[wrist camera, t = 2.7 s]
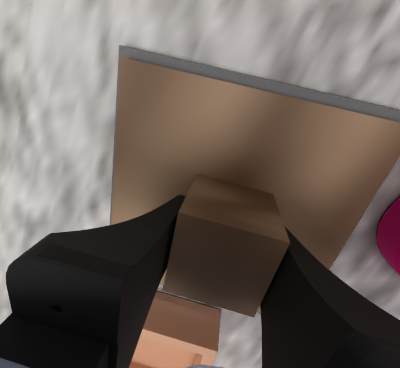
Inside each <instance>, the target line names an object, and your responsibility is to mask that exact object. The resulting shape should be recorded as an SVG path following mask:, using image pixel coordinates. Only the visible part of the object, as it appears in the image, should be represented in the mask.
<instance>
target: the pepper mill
mask: <svg viewBox="0 0 400 368" xmlns="http://www.w3.org/2000/svg"><path fill="white" fill-rule="evenodd" d="M377 243H378V248H379V249H380V251H381V253H382V255H383V257H384V258H385V259H386V260H387V261H388V262H389V264H390V265H391V266H392V267H393V268H394V269H395V270H396V272H397V273H398V274H399V275H400V198H399V199H397V200H396V201H395V202H394V203H393V204H392V205H391V206H390V208H389V209H388V210H387V211H386V212H385V214H384V215H383V217H382V219H381V221H380V223H379V226H378V231H377Z"/></svg>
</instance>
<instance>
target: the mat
mask: <svg viewBox="0 0 400 368" xmlns="http://www.w3.org/2000/svg"><path fill="white" fill-rule="evenodd" d="M120 57H123V58H127V59H131V60H135V61H140V62H144V63H148V64H152V65H157V66H161V67H165V68H169V69H174V70H178V71H182V72H186V73H191V74H195V75H199V76H203V77H208V78H212V79H216V80H220V81H225V82H229V83H233V84H237V85H242V86H246V87H250V88H254V89H259V90H263V91H267V92H271V93H276V94H280V95H284V96H288V97H293V98H297V99H301V100H305V101H310V102H314V103H318V104H322V105H327V106H331V107H335V108H339V109H344V110H348V111H352V112H356V113H361V114H365V115H369V116H373V117H378V118H382V119H386V120H390V121H395V122H399V123H400V110H397V109H392V108H388V107H384V106H379V105H375V104H371V103H366V102H362V101H358V100H353V99H349V98H345V97H341V96H336V95H332V94H328V93H323V92H319V91H315V90H310V89H306V88H302V87H298V86H293V85H289V84H285V83H280V82H276V81H272V80H267V79H263V78H259V77H254V76H250V75H246V74H242V73H237V72H233V71H229V70H224V69H220V68H216V67H211V66H207V65H203V64H198V63H194V62H190V61H186V60H181V59H177V58H173V57H168V56H164V55H160V54H155V53H151V52H147V51H143V50H138V49H134V48H130V47H125V46H121V45H119V61H118V80H117V99H116V118H115V137H114V156H113V175H112V193H111V212H110V225H111V219H112V201H113V183H114V165H115V147H116V129H117V111H118V93H119V75H120Z"/></svg>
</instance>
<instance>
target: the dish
mask: <svg viewBox="0 0 400 368" xmlns="http://www.w3.org/2000/svg"><path fill="white" fill-rule="evenodd" d="M220 315H221V310H219V309H216V308H213V307H209V306H206V305H203V304H199V303H196V302H192V301H189V300H186V299H182V298H179V297H175V296H172V295H169V294H165V293H162V292H158V291H156V294H155V297H154V299H153V302H152V305H151V307H150V310H149V313H148V316H147V318H146V321H145V324H144V327H143V330H142V332H141V335H140V338H139V341H138V344H137V346H136V349H135V352H134V355H133V358H132V361H131V364H130V366H129V368H185V367H189V366H194V365H199V364H203V365H209V366H212V364H213V362H214V360H215V357H216V355H217V352H218V342H219V328H220Z"/></svg>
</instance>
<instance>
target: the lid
mask: <svg viewBox="0 0 400 368" xmlns="http://www.w3.org/2000/svg"><path fill="white" fill-rule="evenodd" d="M399 156H400V123H399V122H395V121H390V120H386V119H382V118H378V117H373V116H369V115H365V114H361V113H356V112H352V111H348V110H344V109H339V108H335V107H331V106H327V105H322V104H318V103H314V102H310V101H305V100H301V99H297V98H293V97H288V96H284V95H280V94H276V93H271V92H267V91H263V90H259V89H254V88H250V87H246V86H242V85H237V84H233V83H229V82H225V81H220V80H216V79H212V78H208V77H203V76H199V75H195V74H191V73H186V72H182V71H178V70H174V69H169V68H165V67H161V66H157V65H152V64H148V63H144V62H140V61H135V60H131V59H127V58H123V57H120V75H119V93H118V111H117V129H116V147H115V165H114V183H113V201H112V219H111V225H113V224H117V223H120V222H124V221H127V220H130V219H133V218H136V217H139V216H141V215H144V214H146V213H148V212H150V211H152V210H154V209H156V208H158V207H159V206H161V205H163V204H165V203H166V202H168V201H169V200H171V199H173V198H174V197H176V196H177V195H179V194H180V195H184V196H186V198H185V200H184V202H183V204H182V206H181V208H180V210H179V212H178V217H177V221H176V226H175V231H174V236H173V241H172V246H171V251H170V256H169V261H168V266H167V269H166V271H165V273H164V275H163V277H162V279H161V282H160V284H161V285H163V291H166V292H170V293H173V294H176V295H180V296H183V297H187V298H190V299H193V300H197V301H200V302H204V303H207V304H210V305H214V306H217V307H221V308H224V309H227V310H231V311H234V312H238V313H241V314H244V315H248V316H251V317H254V316H255V314H256V312H257V313H260V314H261V309H260V304H261V302H262V300H263V298H264V296H265V294H266V292H267V289H268V287H269V285H270V283H271V281H272V279H273V277H274V275H275V273H276V271H277V269H278V267H279V265H280V263H281V261H282V259H283V257H284V254H285V252H286V250H287V248H288V246H289V244H290V241H289V238H288V235H287V232H286V229H285V227H286V228H287V229H288V230H289V231H290V232H291V233H292V234H293V235H294V236H295V237H296V238H297V240H298V241H299V242H300V243H301V244H302V245H303V246H304V247H305V248H306V249H307V250H308V251H309V252H310V253H311V254H312V255H313V256H314V257H315V258H316V259H317V260H318V261H319V262H320V263H322V264H323V265H324V266H325V267H326V268H327V269H328V270H329V269H330V267H331V266H332V264H333V263H334V261H335V259H336V258H337V256H338V254H339V253H340V251H341V250H342V248H343V246H344V245H345V243H346V241H347V240H348V238H349V237H350V235H351V233H352V232H353V230H354V229H355V227H356V225H357V224H358V222H359V220H360V219H361V217H362V216H363V214H364V212H365V211H366V209H367V208H368V206H369V204H370V203H371V201H372V199H373V198H374V196H375V195H376V193H377V191H378V190H379V188H380V187H381V185H382V183H383V182H384V180H385V178H386V177H387V175H388V174H389V172H390V170H391V169H392V167H393V165H394V164H395V162H396V161H397V159H398V157H399ZM284 226H285V227H284Z"/></svg>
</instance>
